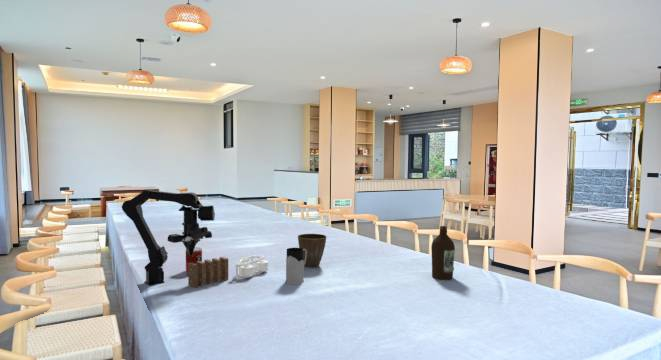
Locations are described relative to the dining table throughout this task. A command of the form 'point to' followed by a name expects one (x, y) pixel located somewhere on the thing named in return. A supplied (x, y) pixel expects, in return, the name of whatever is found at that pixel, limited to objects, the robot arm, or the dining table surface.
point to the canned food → (193, 256)
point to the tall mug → (295, 265)
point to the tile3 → (209, 271)
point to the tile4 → (216, 269)
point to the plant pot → (312, 248)
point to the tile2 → (201, 273)
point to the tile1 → (192, 275)
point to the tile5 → (224, 268)
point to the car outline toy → (250, 266)
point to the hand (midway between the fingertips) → (190, 255)
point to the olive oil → (442, 256)
